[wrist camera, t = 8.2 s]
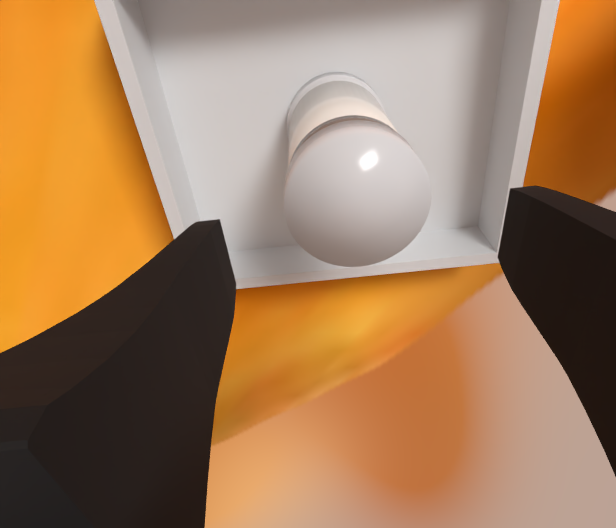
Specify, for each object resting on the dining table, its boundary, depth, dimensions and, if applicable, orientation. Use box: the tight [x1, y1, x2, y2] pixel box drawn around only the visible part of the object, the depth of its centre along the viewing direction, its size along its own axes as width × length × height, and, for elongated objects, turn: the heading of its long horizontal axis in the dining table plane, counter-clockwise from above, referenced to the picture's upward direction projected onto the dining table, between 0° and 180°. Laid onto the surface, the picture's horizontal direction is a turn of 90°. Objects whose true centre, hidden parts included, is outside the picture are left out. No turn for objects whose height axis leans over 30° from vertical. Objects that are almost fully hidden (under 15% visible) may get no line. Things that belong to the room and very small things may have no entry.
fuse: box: [284, 72, 432, 267], centre depth 15 cm, size 4×4×8 cm
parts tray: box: [94, 0, 560, 289], centre depth 18 cm, size 15×13×3 cm
